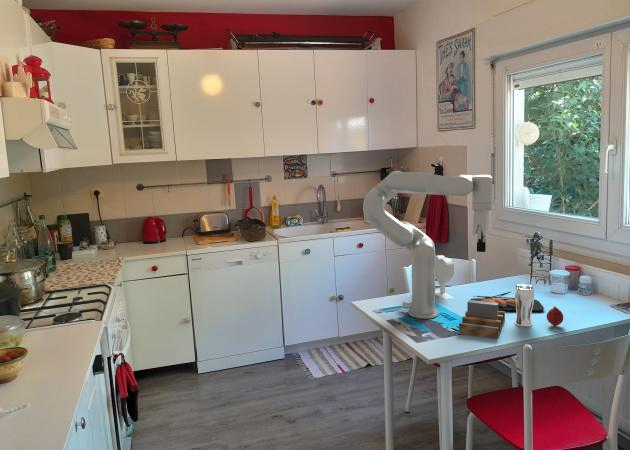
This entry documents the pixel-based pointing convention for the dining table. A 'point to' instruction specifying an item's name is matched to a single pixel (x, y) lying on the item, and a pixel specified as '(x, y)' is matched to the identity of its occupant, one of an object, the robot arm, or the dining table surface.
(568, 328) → the dining table surface
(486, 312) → the grey rectangular block
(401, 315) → the dining table surface
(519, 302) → the beer glass
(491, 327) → the rack
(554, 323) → the onion
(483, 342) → the dining table surface
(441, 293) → the heart sculpture
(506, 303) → the sushi plate
